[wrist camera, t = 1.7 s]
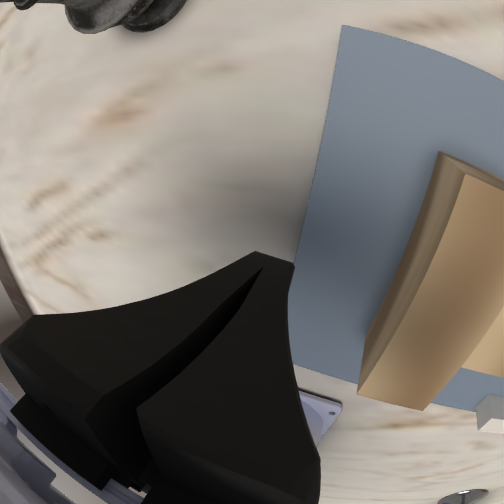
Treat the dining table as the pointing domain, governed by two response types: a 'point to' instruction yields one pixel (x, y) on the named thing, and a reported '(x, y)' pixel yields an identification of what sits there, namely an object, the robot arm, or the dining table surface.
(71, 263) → the dining table surface
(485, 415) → the dock
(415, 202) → the board
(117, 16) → the salt shaker
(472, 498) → the silver goblet
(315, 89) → the dining table surface
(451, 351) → the t block
